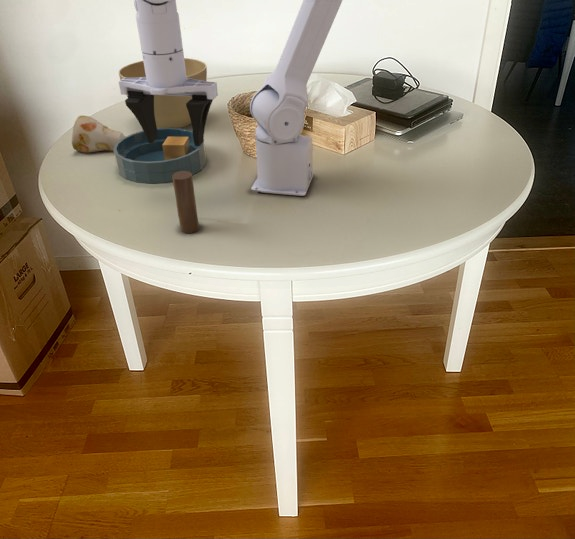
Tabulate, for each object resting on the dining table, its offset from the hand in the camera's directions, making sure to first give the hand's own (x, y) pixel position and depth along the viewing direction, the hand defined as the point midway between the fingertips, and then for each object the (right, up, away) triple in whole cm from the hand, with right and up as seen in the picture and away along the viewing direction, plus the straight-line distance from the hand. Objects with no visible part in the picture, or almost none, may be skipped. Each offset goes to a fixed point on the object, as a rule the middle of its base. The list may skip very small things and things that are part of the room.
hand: (175, 142), depth 82 cm
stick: (+2, -14, -1) cm, 14 cm away
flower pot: (-8, +12, +35) cm, 38 cm away
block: (-3, +1, +18) cm, 18 cm away
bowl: (-6, -1, +17) cm, 18 cm away
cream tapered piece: (-20, +4, +24) cm, 31 cm away
